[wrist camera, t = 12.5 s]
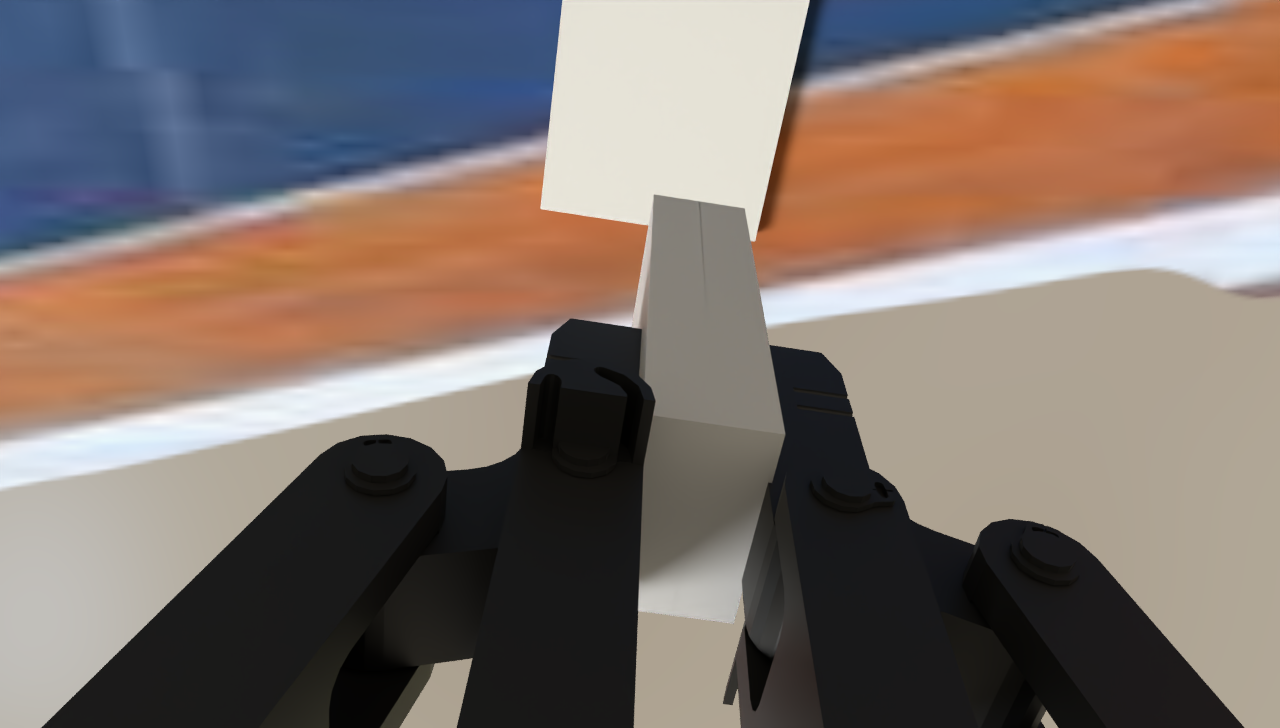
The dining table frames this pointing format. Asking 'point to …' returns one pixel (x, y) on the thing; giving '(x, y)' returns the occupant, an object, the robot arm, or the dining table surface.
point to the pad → (668, 104)
